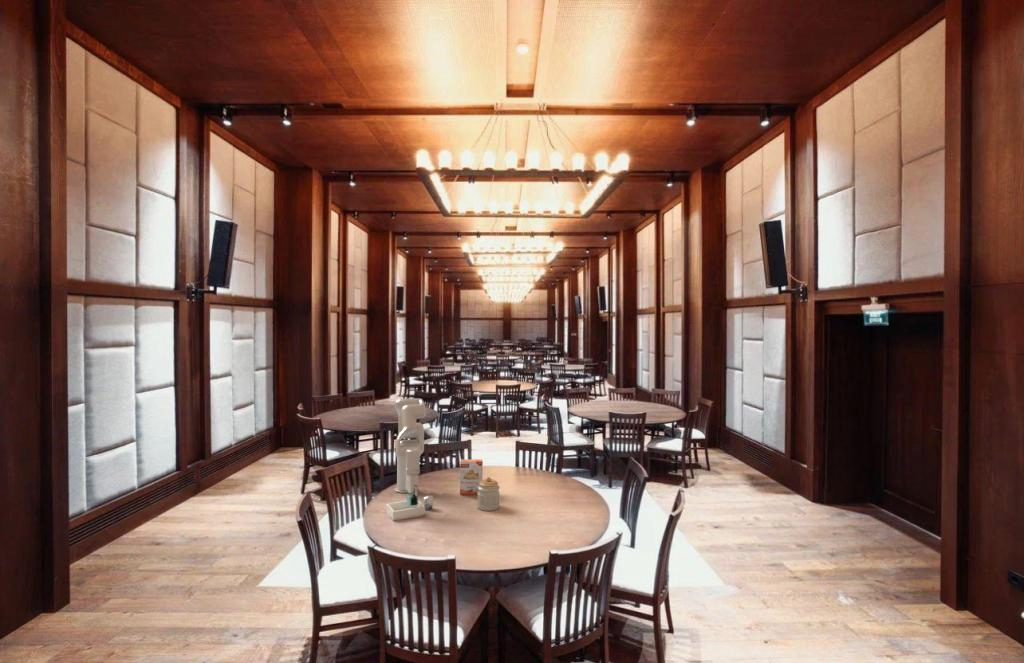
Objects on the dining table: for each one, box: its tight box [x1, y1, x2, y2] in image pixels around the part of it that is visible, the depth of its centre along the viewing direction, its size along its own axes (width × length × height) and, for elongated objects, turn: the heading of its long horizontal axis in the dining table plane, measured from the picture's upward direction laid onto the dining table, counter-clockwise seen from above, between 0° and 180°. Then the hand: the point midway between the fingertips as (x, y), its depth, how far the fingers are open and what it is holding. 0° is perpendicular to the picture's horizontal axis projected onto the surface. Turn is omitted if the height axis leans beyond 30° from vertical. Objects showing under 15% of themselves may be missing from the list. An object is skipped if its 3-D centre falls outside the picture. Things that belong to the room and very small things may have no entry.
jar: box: [476, 476, 501, 512], centre depth 309 cm, size 13×13×18 cm
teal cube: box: [406, 493, 419, 506], centre depth 298 cm, size 5×5×5 cm
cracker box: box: [459, 458, 484, 496], centre depth 333 cm, size 14×6×21 cm, turn 96°
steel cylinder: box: [423, 495, 434, 512], centre depth 305 cm, size 5×5×7 cm
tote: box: [385, 499, 426, 522], centre depth 297 cm, size 14×18×5 cm
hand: (412, 502), depth 298 cm, fingers closed on teal cube, 4 cm apart
